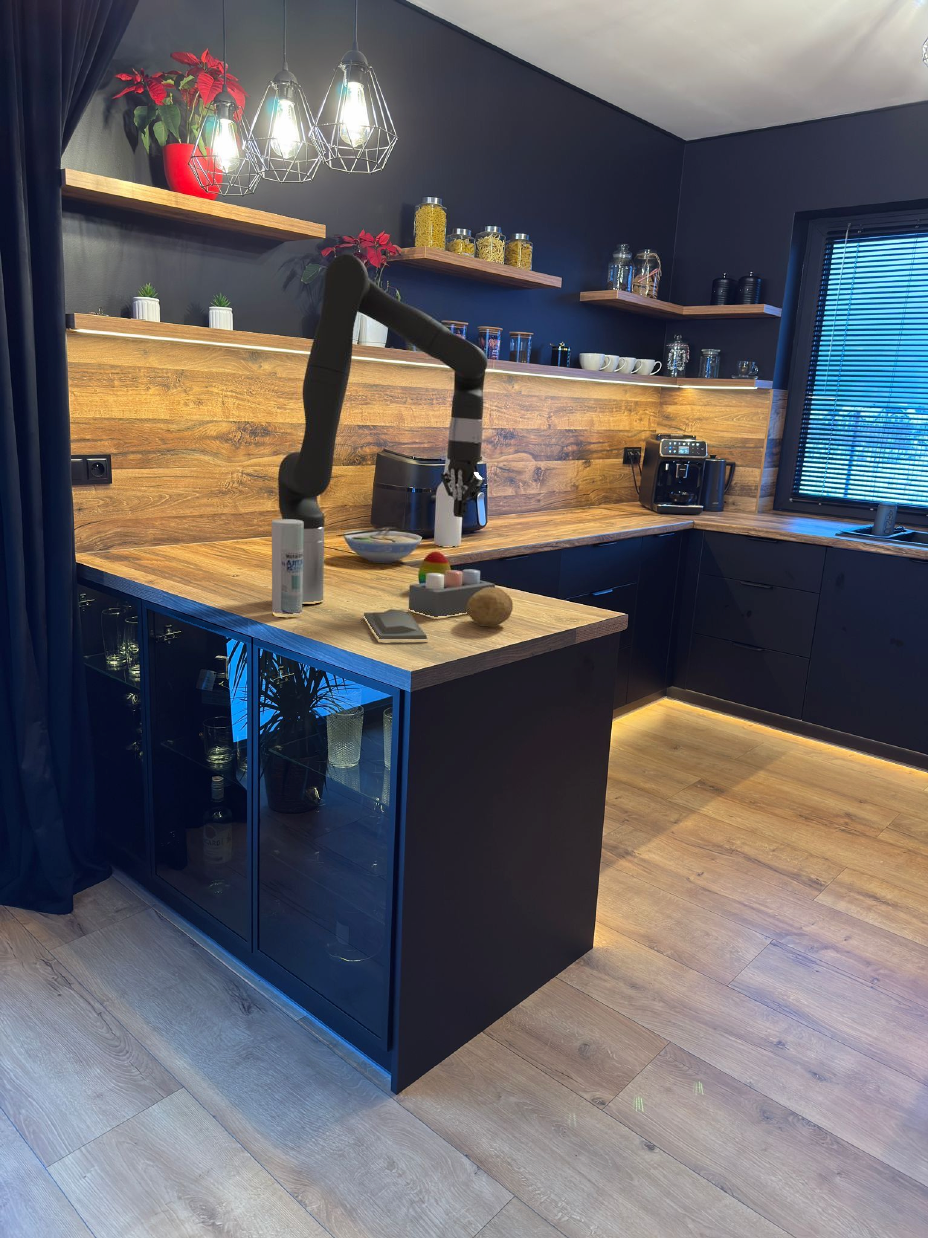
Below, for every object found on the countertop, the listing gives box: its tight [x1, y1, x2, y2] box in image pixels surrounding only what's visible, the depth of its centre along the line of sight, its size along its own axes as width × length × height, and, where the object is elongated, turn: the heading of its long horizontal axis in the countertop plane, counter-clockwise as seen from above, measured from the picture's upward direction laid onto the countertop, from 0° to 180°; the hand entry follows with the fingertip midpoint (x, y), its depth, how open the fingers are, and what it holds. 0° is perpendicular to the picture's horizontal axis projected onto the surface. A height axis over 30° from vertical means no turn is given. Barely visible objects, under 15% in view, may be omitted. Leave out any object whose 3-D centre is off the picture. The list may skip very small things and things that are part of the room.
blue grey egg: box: [462, 568, 481, 585], centre depth 201 cm, size 4×4×6 cm
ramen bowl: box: [335, 526, 423, 564], centre depth 255 cm, size 25×23×8 cm
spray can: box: [271, 518, 304, 614], centre depth 184 cm, size 6×6×20 cm
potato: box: [466, 586, 514, 627], centre depth 187 cm, size 10×14×8 cm
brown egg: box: [444, 569, 463, 587], centre depth 198 cm, size 4×4×6 cm
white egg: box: [426, 573, 444, 590], centre depth 194 cm, size 4×4×6 cm
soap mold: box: [363, 608, 428, 640], centre depth 179 cm, size 10×20×4 cm, turn 14°
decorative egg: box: [417, 551, 452, 584], centre depth 217 cm, size 8×8×10 cm
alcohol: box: [433, 452, 463, 547], centre depth 287 cm, size 9×9×30 cm
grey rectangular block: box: [408, 579, 496, 617], centre depth 198 cm, size 18×9×6 cm, turn 134°
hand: (459, 516), depth 201 cm, fingers closed
